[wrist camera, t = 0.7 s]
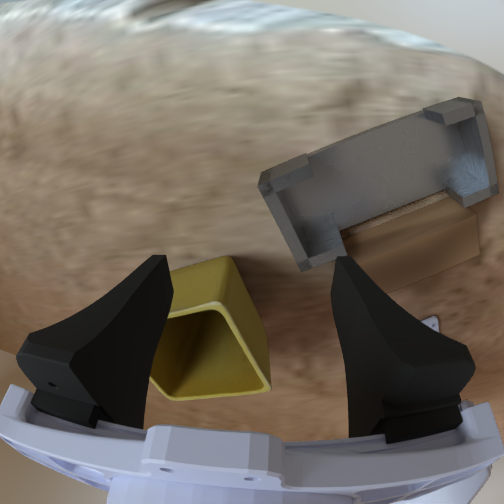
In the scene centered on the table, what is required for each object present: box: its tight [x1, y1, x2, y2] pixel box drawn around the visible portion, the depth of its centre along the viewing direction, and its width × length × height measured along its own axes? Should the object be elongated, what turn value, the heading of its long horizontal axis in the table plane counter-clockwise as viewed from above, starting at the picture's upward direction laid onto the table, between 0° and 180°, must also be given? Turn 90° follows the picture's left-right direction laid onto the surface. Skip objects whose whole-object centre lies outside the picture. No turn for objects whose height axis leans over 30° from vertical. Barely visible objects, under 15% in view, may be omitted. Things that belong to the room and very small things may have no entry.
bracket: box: [257, 97, 499, 272], centre depth 19 cm, size 7×16×4 cm, turn 117°
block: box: [335, 196, 480, 294], centre depth 21 cm, size 4×11×4 cm, turn 117°
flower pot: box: [149, 256, 272, 401], centre depth 23 cm, size 9×9×9 cm
